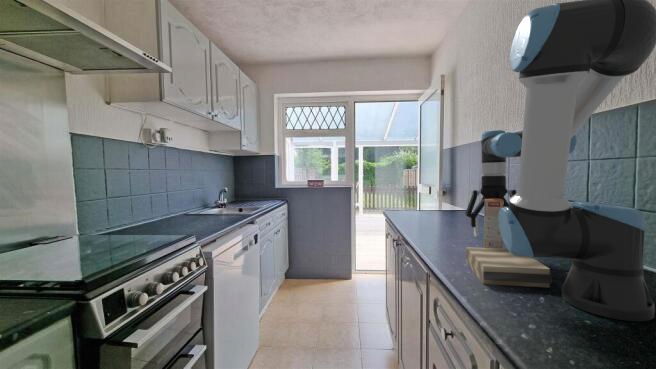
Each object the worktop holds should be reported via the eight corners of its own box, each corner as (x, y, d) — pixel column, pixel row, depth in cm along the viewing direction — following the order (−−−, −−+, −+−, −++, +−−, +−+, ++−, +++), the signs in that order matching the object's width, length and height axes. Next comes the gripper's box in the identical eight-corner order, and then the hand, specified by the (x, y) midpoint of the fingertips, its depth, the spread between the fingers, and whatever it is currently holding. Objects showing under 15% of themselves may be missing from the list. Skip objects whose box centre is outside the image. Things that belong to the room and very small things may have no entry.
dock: (551, 289, 75) (552, 270, 74) (484, 285, 78) (484, 267, 78) (518, 263, 94) (519, 248, 94) (466, 261, 98) (466, 247, 97)
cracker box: (504, 262, 96) (504, 200, 95) (483, 260, 99) (483, 199, 98) (502, 251, 108) (502, 196, 107) (484, 249, 111) (484, 195, 110)
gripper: (525, 174, 103) (525, 234, 104) (456, 175, 108) (456, 233, 109) (535, 174, 96) (535, 239, 97) (460, 176, 101) (460, 238, 102)
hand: (493, 236), depth 103 cm, fingers open, 11 cm apart
